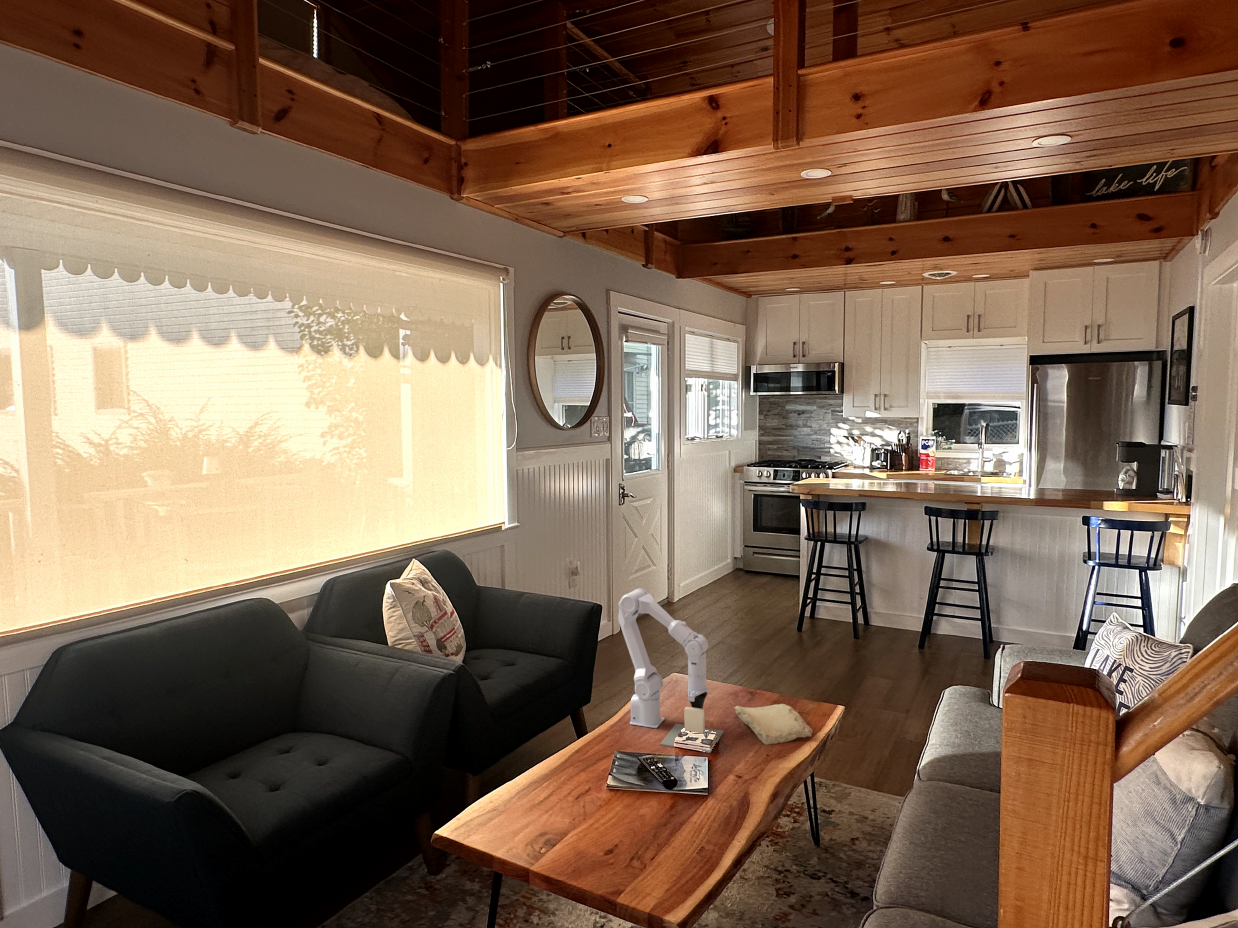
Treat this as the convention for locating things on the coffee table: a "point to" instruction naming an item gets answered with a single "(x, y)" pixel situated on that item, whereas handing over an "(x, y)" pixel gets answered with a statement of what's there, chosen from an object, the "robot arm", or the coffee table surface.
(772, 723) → the small cream pillow
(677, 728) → the mat
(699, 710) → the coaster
